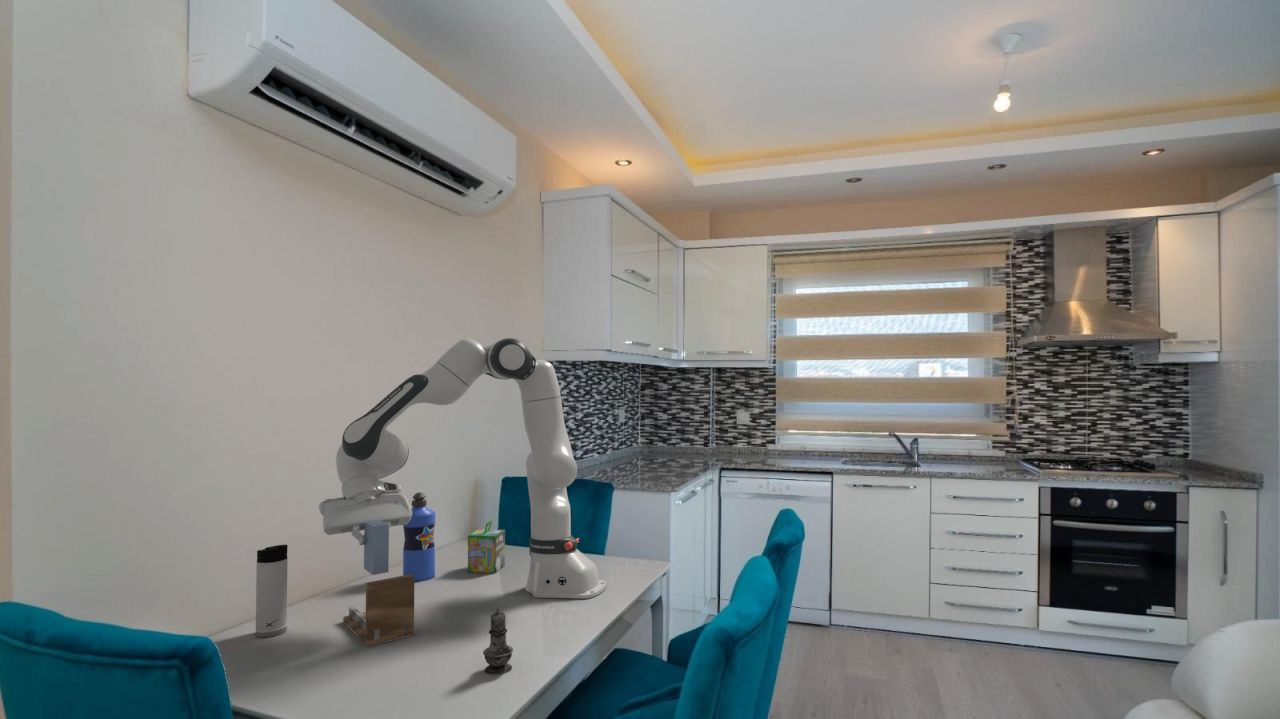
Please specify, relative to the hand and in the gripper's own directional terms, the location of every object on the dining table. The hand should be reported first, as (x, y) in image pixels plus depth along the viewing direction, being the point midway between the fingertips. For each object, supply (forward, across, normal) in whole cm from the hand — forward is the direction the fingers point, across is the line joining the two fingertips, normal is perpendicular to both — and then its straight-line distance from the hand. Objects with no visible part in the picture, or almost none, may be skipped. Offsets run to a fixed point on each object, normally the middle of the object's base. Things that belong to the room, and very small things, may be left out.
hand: (374, 541), depth 153 cm
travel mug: (+6, -19, +22) cm, 30 cm away
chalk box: (-5, +42, +33) cm, 54 cm away
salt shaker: (+43, +11, -16) cm, 47 cm away
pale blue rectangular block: (+6, 0, +4) cm, 7 cm away
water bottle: (-9, +23, +37) cm, 44 cm away
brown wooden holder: (+16, 0, +12) cm, 20 cm away
